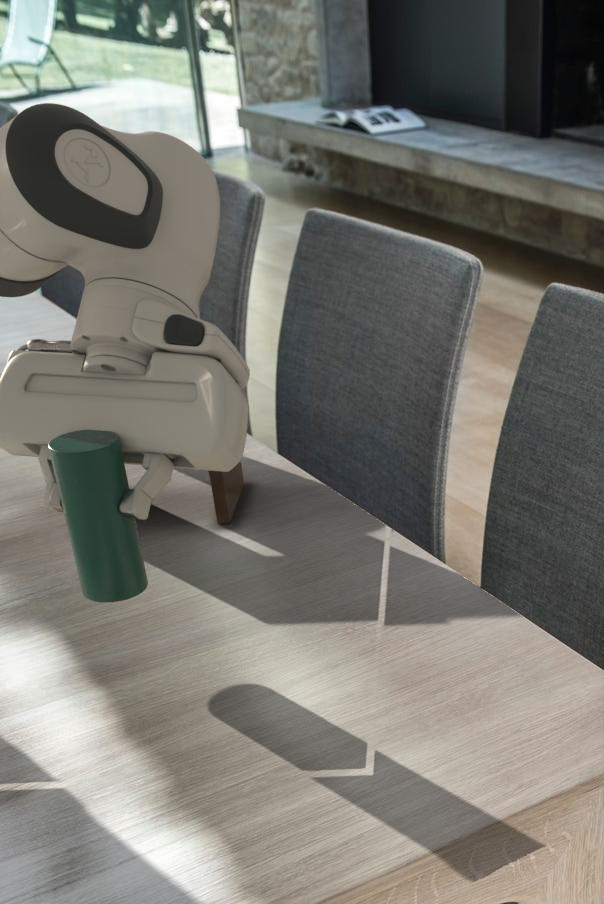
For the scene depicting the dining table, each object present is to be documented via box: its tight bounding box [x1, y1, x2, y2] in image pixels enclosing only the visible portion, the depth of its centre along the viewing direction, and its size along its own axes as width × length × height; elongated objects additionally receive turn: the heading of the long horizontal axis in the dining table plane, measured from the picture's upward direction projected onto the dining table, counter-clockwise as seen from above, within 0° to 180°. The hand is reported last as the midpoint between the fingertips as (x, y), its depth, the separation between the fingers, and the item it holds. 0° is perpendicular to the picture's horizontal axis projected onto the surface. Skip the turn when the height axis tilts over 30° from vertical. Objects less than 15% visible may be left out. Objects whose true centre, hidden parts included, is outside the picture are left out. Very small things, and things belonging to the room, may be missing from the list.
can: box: [48, 430, 149, 603], centre depth 87 cm, size 5×5×12 cm
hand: (94, 513), depth 86 cm, fingers closed on can, 5 cm apart
